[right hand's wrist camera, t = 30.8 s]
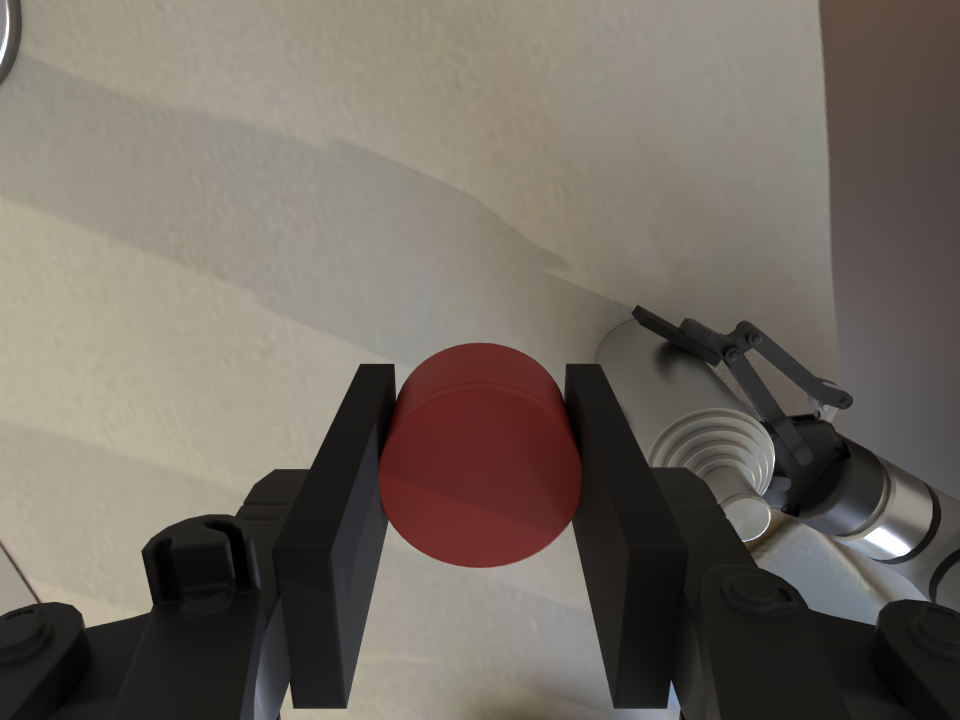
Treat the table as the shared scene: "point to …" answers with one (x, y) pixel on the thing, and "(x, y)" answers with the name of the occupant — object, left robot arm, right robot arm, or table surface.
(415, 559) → the table surface
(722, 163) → the table surface
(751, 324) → the left robot arm
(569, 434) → the cap
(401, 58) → the table surface
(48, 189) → the table surface
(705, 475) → the bottle
